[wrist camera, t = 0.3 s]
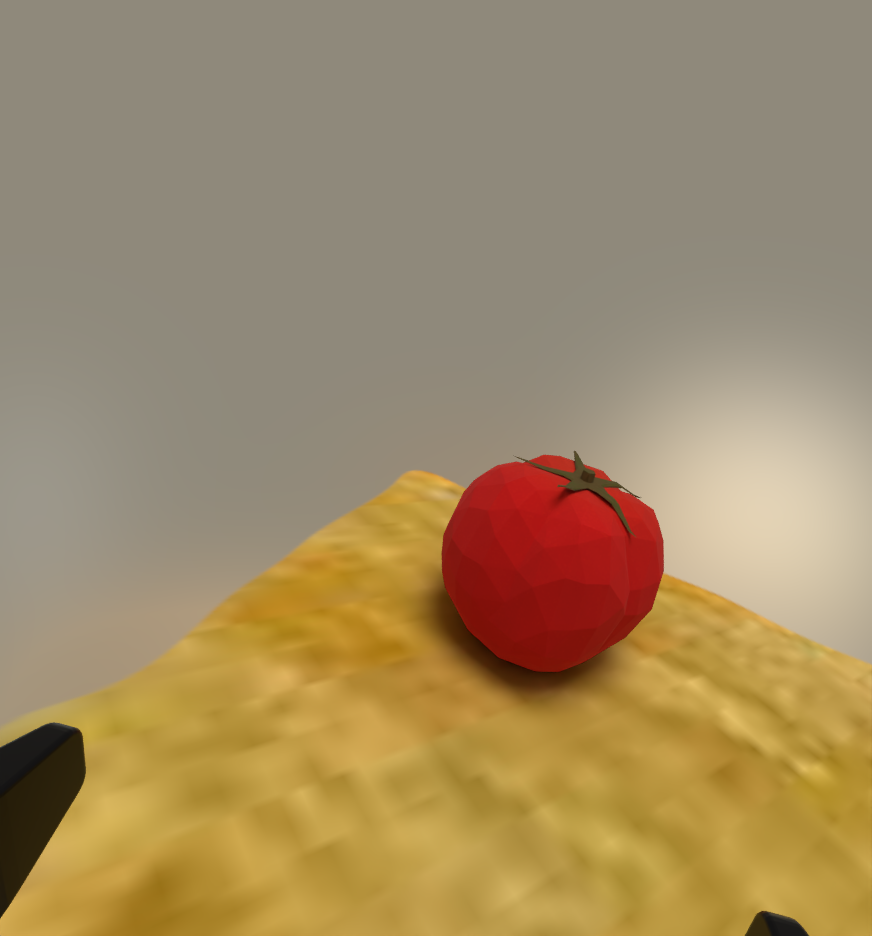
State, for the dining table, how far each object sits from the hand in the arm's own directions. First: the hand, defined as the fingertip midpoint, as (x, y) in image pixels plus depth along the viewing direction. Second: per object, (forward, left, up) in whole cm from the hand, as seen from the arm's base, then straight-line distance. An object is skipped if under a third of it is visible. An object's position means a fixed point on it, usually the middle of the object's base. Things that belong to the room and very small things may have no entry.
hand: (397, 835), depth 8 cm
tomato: (+25, -4, -17) cm, 30 cm away
